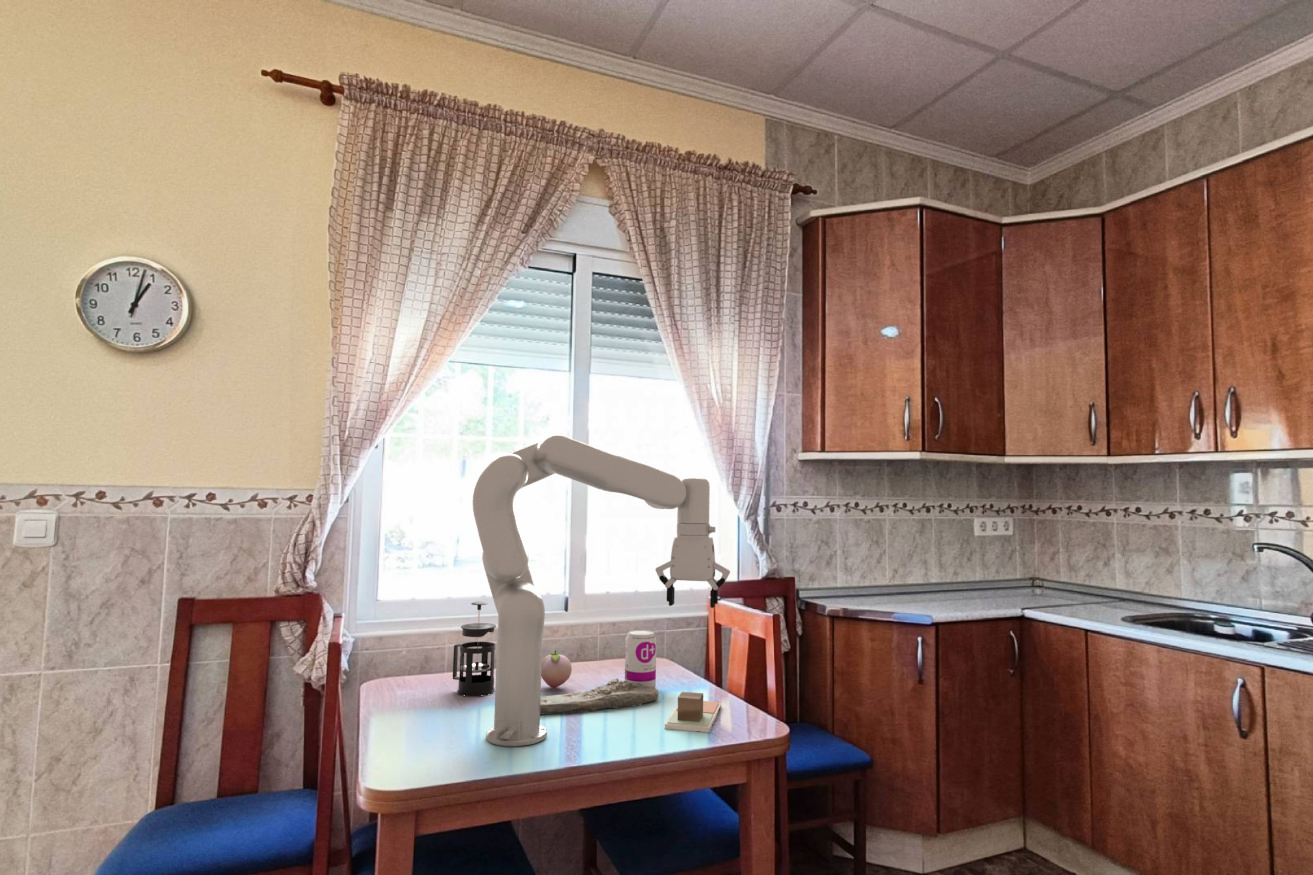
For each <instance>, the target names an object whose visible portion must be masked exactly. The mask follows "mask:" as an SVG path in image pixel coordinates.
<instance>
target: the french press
mask: <svg viewBox="0 0 1313 875" xmlns="http://www.w3.org/2000/svg"><path fill="white" fill-rule="evenodd" d="M488 603H489V602H486V601H474V602H471V605H473V606H477V608H476V609H477V611H478V613H477V614H478V615H477V617H478V618H477V622H474V623H473V622H471V623H465V624H463V625H460V629H462V633H461V634H462V636H463V637H469V638H477V641H468V642H463V643H457V644H454V645H453V661H452V665H453V666H452V680H455V681H456V680H458V689H457V691H456V692H457V694H458V693H459V694H460V695H459V694H458V695H459V696H461V695H465V696H464V697H466V696H479V697H482V696H481V695H486V696H489V695H488V694H490V695H492V694H493V692H494V693H495V686H494V685H495V654H496V653H495V651H496V643H494V642H492V641H491V642H490V641H480V638H481V637H484V636H486V635H487V634H488V633H494V631H495V628H496V627H497V625H496V624H494V623H487V622H486V623H485V622H480V614H481V610H482V606H486V605H488ZM459 651H460V655H459V654H458V653H459ZM489 653H490V663H488V662H489ZM465 654H466V655H465ZM474 654H475V655H476V661H475V663H474ZM479 654H481V660H480V661H481V662H479ZM458 656H460V660H459V676H458ZM465 656H466V658H465ZM465 659H466V660H465ZM488 672H489V673H490V674H489V675H488ZM464 673H465V676H464ZM476 673H477V674H476ZM478 673H480V674H478ZM491 693H492V694H491Z"/></svg>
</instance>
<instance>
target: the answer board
mask: <svg viewBox="0 0 1313 875" xmlns="http://www.w3.org/2000/svg"><path fill="white" fill-rule="evenodd" d="M720 706H721V707H722V702H719V701H710V700H709V701H708V700H703V717H702V719H701V720H700V722H693V721H681V720H678V704H677V706H676V707H675V708H674V709H673V711H672V713H671V714H670V715H669V716H668V718H667V720H666V721H665V722H664V729H665V730H675V731H685V732H687V731H689V732H696V731H701V732H700V733H708V732H709V733H710V732H711V730H712V728H713V726H712V724H713V725H714V723H715V721H714V720H716V719H717V717H716V715H717V713H718V710H719V708H720ZM720 709H721V708H720ZM718 714H719V713H718ZM717 716H718V715H717ZM715 718H716V719H715ZM713 722H714V723H713ZM711 727H712V728H711ZM710 729H711V730H710Z"/></svg>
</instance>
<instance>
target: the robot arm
mask: <svg viewBox="0 0 1313 875" xmlns="http://www.w3.org/2000/svg"><path fill="white" fill-rule="evenodd" d="M555 474H556V475H560V476H562V477H565V478H567V479H570V480H573V481H575V482H578V483H582V484H584V485H586V486H589V487H592V488H594V489H597V490H602V491H604V492H608V493H617V494H622V495H627V496H631V497H634V498H637V499H640V500H643V501H644V502H645V503H646V505H648V506H649V507H651V508H653V509H657V510H674V509H676V536H674V537H673V540H672V545H671V554H670V560H669V561H667V562H666V563H664V564H662V565H659V566H657V567H656V568H655V572H656V575H657V577H658V579H659V581H660V582H661V583H662V584H663V585H664V587H665V588H666V602H668V606H669V607H672V606H673V605H674V604H675V594H676V593H675V587H674V584H676V582H677V581H684V582H686V581H687V582H689V581H690V582H692V581H693V582H707V583H708V584H709V586H711V589H710V591H709V592H710V593H709V594H710V595H709V596H710V598H709V599H710V601H709V605H710V608H712V609H714V608H715V607H716V605H718V602H719V589H720V587H721V586H723V585H724V584H725V583H726V581H727V579H728V578H729V576H730V574H731V571H730V570H729V569H728V568H727V567H725V566H724V565H723V566H722V565H721V564H720V563H718V562H716V555H715V554H716V553H715V545H714V538H713V537H710V534H713V533H716V526H712V525H710V483H709V480H708V479H706V478H701V477H683V478H682V477H681V478H679V477H677V476H676V475H673V474H671V473H669V472H665V471H663V470H661V469H659V468H655V467H653V466H650V465H646V464H643V463H641V462H638V461H635V460H631V459H630V458H629V459H628V458H625V457H623V456H621V455H618V454H614V453H611V452H608V451H606V450H604V449H600V448H597V447H595V446H592V445H589V444H586V443H584V442H582V441H580V440H576V439H573V438H571V437H569V436H567V435H566V436H565V435H563V434H557V433H556V434H551V435H548V436H546V437H545V438H543V439H541V440H539V441H537V442H535V443H532V444H529V445H528V446H526V447H522V448H520V449H518V450H515V451H513V452H509V453H504V454H501V455H499V456H497V457H496V458H494V459H493V461H492V462H490V464H488V466H486V467H485V469H484V470H483V472H481V474H480V475H479V477H478V479H477V482H476V484H475V487H474V489H473V490H474V491H473V494H472V495H473V496H472V512H473V516H474V517H473V518H474V521H475V524H476V525H475V526H476V528H477V529H476V530H477V533H478V537H479V541H480V544H481V547H482V558H481V559H482V564H483V568H484V572H485V576H486V579H487V582H488V585H489V590H490V592H491V596H492V599H493V602H494V606H495V609H496V611H497V615H498V617H497V618H498V620H497V621H498V623H497V624H498V625H497V638H496V640H497V641H496V657H495V661H496V662H495V663H496V664H495V665H496V666H495V686H494V690H495V691H494V693H495V694H494V718H493V726H492V727H491V728H489V729H488V730H487V731H486V734H485V737H486V740H487V742H488V743H490V744H493V745H497V746H501V747H502V746H503V747H523V746H524V747H525V746H529V745H530V746H531V745H533V744H534V745H535V744H537V743H539V742H542V741H544V739H546V738H547V735H548V730H547V728H546V727H545V726H543V725H541V724H540V723H541V714H540V699H541V697H542V696H541V695H542V694H541V693H542V692H541V691H542V677H541V668H542V660H543V657H542V655H543V637H544V636H543V635H544V627H545V619H546V616H545V615H546V612H545V611H546V610H545V609H546V608H545V603H544V600H543V598H542V595H541V594H540V592H539V591H538V590H536V588H535V585H534V581H533V578H532V577H533V576H532V573H531V571H530V567H529V552H528V550H527V547H526V545H525V543H524V540H523V537H522V533H521V530H520V527H519V523H518V519H517V516H516V510H515V505H514V504H515V503H514V502H515V498H516V497H515V496H516V494H517V492H518V491H519V490H521V489H522V488H524V487H527V486H529V485H532V484H534V483H536V482H539V481H541V480H543V479H545V478H548V477H551V476H552V475H555ZM667 569H669V576H670V578H669V579H668V577H667V576H666V575H665V572H664V571H665V570H667ZM716 571H717V572H720V573H721V574H722V575H721V577H720V579H719V580H718V581H717V580H716V579H715V576H716Z"/></svg>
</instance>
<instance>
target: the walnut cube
mask: <svg viewBox="0 0 1313 875" xmlns="http://www.w3.org/2000/svg"><path fill="white" fill-rule="evenodd" d="M703 701H704V693H703V692H693V691H692V692H691V691H690V692H689V691H681V692H680V694H679V695H678V697H677V705H678V720H681V721H693V722H700V720H701V719H702V717H703Z"/></svg>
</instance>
